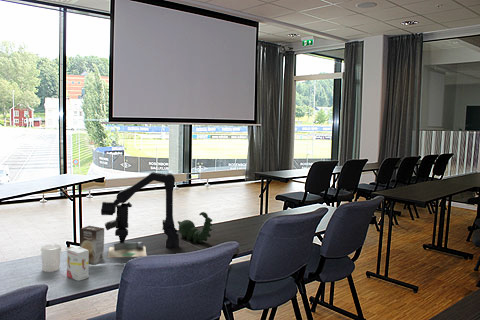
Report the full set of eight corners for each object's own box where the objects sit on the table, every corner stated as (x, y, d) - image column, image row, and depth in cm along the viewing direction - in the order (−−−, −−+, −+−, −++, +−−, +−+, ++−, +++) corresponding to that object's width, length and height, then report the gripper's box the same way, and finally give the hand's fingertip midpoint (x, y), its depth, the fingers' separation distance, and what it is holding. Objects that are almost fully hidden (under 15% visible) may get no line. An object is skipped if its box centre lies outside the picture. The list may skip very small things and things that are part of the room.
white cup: (53, 273, 173) (53, 250, 172) (36, 271, 174) (37, 248, 174) (64, 267, 180) (65, 245, 180) (48, 265, 182) (49, 243, 181)
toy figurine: (213, 246, 230) (182, 233, 245) (216, 213, 228) (185, 203, 242) (201, 249, 222) (170, 236, 237) (205, 215, 220) (173, 205, 235)
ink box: (65, 276, 170) (66, 248, 170) (76, 273, 174) (77, 246, 174) (78, 281, 166) (78, 252, 165) (88, 278, 170) (89, 250, 169)
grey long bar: (143, 247, 212) (143, 241, 211) (143, 249, 208) (143, 243, 208) (114, 248, 208) (114, 242, 208) (114, 250, 204) (114, 244, 204)
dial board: (145, 248, 215) (145, 245, 215) (146, 258, 198) (146, 255, 198) (109, 249, 210) (109, 246, 210) (107, 259, 194) (107, 257, 194)
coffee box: (78, 262, 188) (79, 228, 187) (88, 258, 194) (88, 225, 193) (95, 265, 185) (95, 230, 184) (104, 261, 191) (105, 227, 190)
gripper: (107, 211, 217) (106, 240, 218) (104, 219, 199) (104, 250, 200) (128, 211, 220) (128, 239, 221) (128, 219, 202) (127, 250, 203)
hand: (121, 245), depth 211 cm, fingers closed
